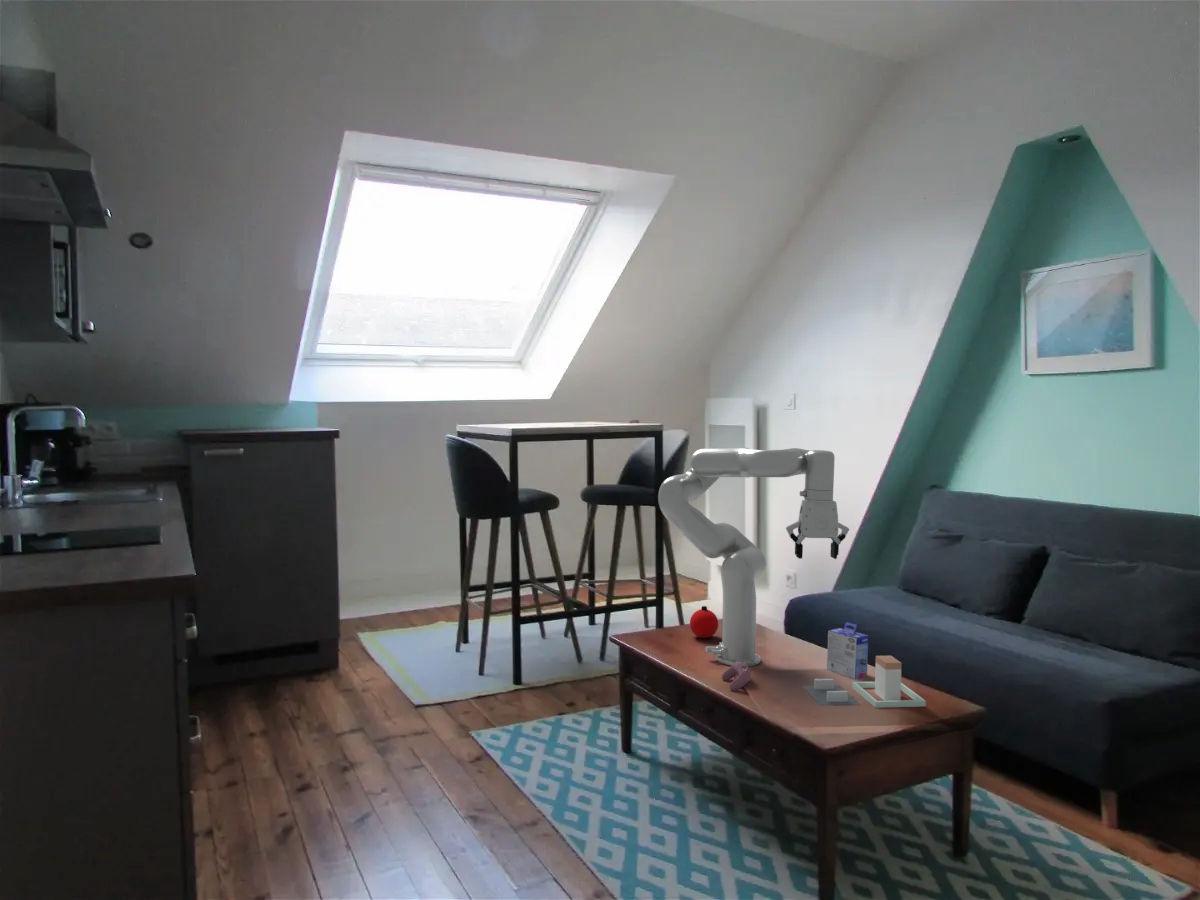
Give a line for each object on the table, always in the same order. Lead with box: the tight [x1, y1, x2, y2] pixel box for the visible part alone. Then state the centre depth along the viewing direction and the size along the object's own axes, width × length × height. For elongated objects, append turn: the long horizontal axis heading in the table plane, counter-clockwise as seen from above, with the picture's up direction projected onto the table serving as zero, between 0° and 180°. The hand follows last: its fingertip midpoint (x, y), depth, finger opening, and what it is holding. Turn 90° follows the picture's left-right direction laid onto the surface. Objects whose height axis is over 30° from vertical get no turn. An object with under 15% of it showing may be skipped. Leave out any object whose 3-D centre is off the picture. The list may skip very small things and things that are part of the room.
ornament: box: [689, 605, 719, 639], centre depth 266 cm, size 9×9×10 cm
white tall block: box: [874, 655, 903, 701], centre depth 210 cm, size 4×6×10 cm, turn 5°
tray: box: [851, 681, 927, 708], centre depth 211 cm, size 13×15×2 cm
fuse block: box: [801, 678, 861, 706], centre depth 211 cm, size 10×14×4 cm
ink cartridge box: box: [826, 621, 869, 680], centre depth 229 cm, size 10×6×14 cm, turn 36°
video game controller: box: [721, 661, 752, 692], centre depth 222 cm, size 10×5×7 cm, turn 5°
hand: (816, 557), depth 230 cm, fingers open, 9 cm apart
